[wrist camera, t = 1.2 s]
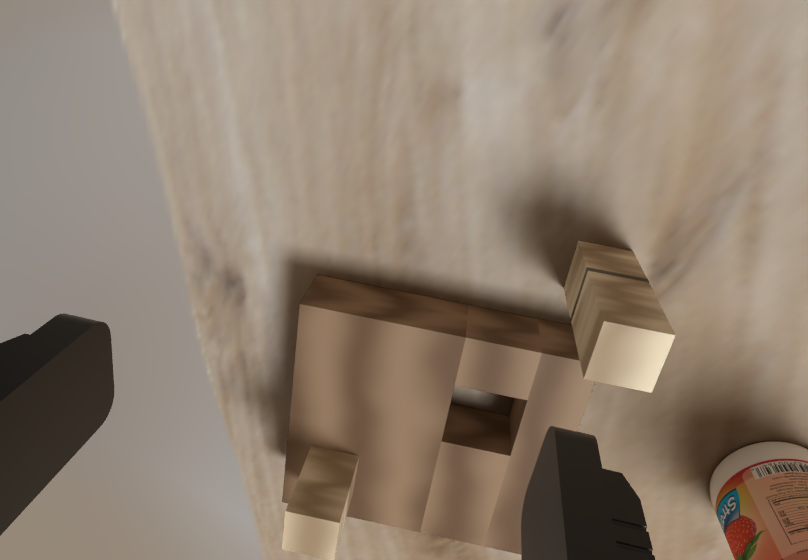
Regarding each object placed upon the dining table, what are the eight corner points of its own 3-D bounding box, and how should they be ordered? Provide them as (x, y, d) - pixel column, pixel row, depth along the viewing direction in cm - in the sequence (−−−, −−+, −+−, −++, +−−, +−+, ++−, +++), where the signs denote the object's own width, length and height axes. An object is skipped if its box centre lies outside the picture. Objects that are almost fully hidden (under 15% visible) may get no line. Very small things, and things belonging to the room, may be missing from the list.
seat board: (591, 329, 48) (618, 429, 38) (529, 511, 57) (536, 634, 47) (317, 274, 49) (268, 356, 39) (298, 462, 58) (254, 570, 48)
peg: (633, 250, 45) (675, 335, 34) (616, 298, 47) (651, 393, 36) (578, 240, 45) (603, 320, 35) (563, 288, 47) (583, 379, 37)
